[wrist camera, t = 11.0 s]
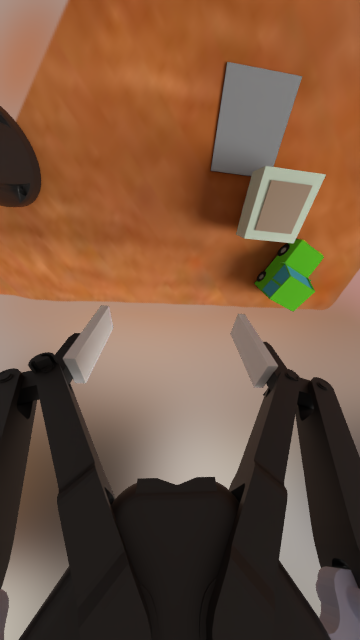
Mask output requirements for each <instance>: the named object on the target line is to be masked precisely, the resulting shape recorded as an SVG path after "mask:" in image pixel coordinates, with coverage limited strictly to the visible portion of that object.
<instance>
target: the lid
mask: <svg viewBox="0 0 360 640" xmlns="http://www.w3.org/2000/svg"><path fill="white" fill-rule="evenodd" d="M325 176H326V175H325V174H318V173H311V172H304V171H297V170H290V169H283V168H276V167H269V166H265V167H262V168H260V169H258V170H255V171H253V172H252V176H251V180H250V184H249V187H248V191H247V195H246V199H245V202H244V206H243V210H242V214H241V217H240V221H239V225H238V229H237V232H236V235H238V236H240V237H243V238H246V239H256V240H265V241H275V242H285V243H294V242H295V239H296V237H297V235H298V233H299V231H300V229H301V227H302V225H303V222H304V220H305V218H306V216H307V214H308V212H309V210H310V207H311V205H312V203H313V201H314V199H315V197H316V195H317V193H318V190H319V188H320V186H321V184H322V182H323V180H324V178H325Z"/></svg>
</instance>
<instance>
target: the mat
mask: <svg viewBox="0 0 360 640" xmlns="http://www.w3.org/2000/svg"><path fill="white" fill-rule="evenodd" d="M301 78H302V76H298V75H292V74H287V73H282V72H277V71H272V70H266V69H261V68H256V67H251V66H246V65H241V64H235V63H230V62H227V67H226V73H225V80H224V86H223V93H222V99H221V106H220V113H219V119H218V126H217V132H216V139H215V145H214V152H213V159H212V165H211V171H217V172H224V173H231V174H239V175H246V176H252V172H253V171H255V170H258V169H260V168H262V167H265V166H269V167H273V166H274V163H275V160H276V157H277V154H278V150H279V147H280V144H281V141H282V138H283V135H284V132H285V129H286V125H287V122H288V119H289V116H290V113H291V110H292V107H293V103H294V100H295V97H296V94H297V91H298V88H299V85H300V81H301Z"/></svg>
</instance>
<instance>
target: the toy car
mask: <svg viewBox="0 0 360 640" xmlns="http://www.w3.org/2000/svg"><path fill="white" fill-rule="evenodd" d="M323 258H324V257H323V255H322V253H320V252H319V251H316V250H315V249H314V248H313V247H311V246H310V245H309V244H307V242H306V241H304V240H302V239H295V242H294V243H288V244H286V245H284V246H283V247H281V249H280V250H279V251H278V256H277V257H276V258H275V259H274V260H273V261H272V263H271V264H270V265H269V266H268V267H267V269H266V270H265V271H266V272H261V273H260V274H259V276H258V277H257V281H256V282H255V283H254V284H255V285H256V286H257V287H258V288H259V289H260V290H261V291H262V292H263V293H264V294H265V295H266V296H267V297H268V298H269V299H271V300H273V301H275V302H276V303H278V304H280V305H282V306H284V307H286V308H287V309H289V310H291V311H294V310H296V309H297V308H298V307H299V306H300V305H301V304H302V303H303V302H304V301H305V300H306V299H308V298H309V297H310V296H311V295H312V294H313V293H314V292H315V290H314V288H313V286H312V284H311V282H310V281H311V280H309V279H308V277H309V276H310V274H311V273H312V272H313V271H314V269H315V268H316V267H317V266H318V264H319V263H320V262H321V261H322V259H323Z"/></svg>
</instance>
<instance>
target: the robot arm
mask: <svg viewBox="0 0 360 640" xmlns="http://www.w3.org/2000/svg"><path fill="white" fill-rule="evenodd" d="M40 187H41V174H40V168H39V164H38V161H37V158H36V155H35V153H34V151H33V148H32V146H31V144H30V142H29V141H28V139H27V137H26V136H25V134H24V133H23V131H22V130H21V128H20V127H19V126H18V124H17V123H16V122H15V121H14V119H13V118H12V117H11V116H10V115H9V114H8V113H7V112H6V111H5V110H4V109H3V108H2V107H1V106H0V205H1V206H6V207H23V206H27V205H29V204H31V203H32V202H34V201H35V199H36V198H37V196H38V194H39V192H40ZM112 330H113V323H112V318H111V313H110V308H109V306H100V308H99V309H98V310H97V312H96V313H95V315H94V316H93V317H92V319H91V320H90V321H89V323H88V324H87V326H86V327H85V328H84V330H83V331H82V332H81V333H74V334H73V335H72V336H70V337H69V338H68V339H67V340H66V342H65V343H64V344H63V345H62V347H61V348H60V349H59V350H58V352H57V353H56V354H55V355H54V354H53V353H49V352H48V353H42V354H39V355H37V356H35V357H34V358H32V359H31V360H30V362H29V364H28V365H29V367H30V369H31V370H32V371H27V372H23V373H21V372H20V371H19V370H18V369H8V370H5V371H2V372H1V373H0V640H4V628H5V623H6V617H7V612H8V608H9V605H8V604H9V600H8V599H9V598H8V596H7V593H6V592H5V591H4V590H2V589H1V587H2V584H3V581H4V577H5V574H6V570H7V567H8V563H9V560H10V555H11V550H12V545H13V540H14V535H15V528H16V523H17V517H18V510H19V505H20V498H21V493H22V487H23V481H24V475H25V469H26V463H27V456H28V451H29V445H30V439H31V433H32V427H33V422H34V415H35V410H36V404H37V400H39V399H40V403H41V407H42V412H43V417H44V421H45V426H46V431H47V436H48V440H49V445H50V449H51V454H52V459H53V463H54V468H55V473H56V478H57V482H58V488H59V494H58V496H57V504H58V511H59V515H60V521H61V526H62V531H63V536H64V541H65V546H66V551H67V556H68V561H69V567H68V568H67V570H66V571H65V573H64V574H63V576H62V577H61V579H60V580H59V582H58V583H57V585H56V586H55V587H54V589H53V591H52V592H51V593H50V595H49V596H48V598H47V599H46V601H45V602H44V603H43V605H42V606H41V608H40V609H39V611H38V612H37V614H36V615H35V617H34V618H33V619H32V621H31V622H30V624H29V625H28V627H27V628H26V630H25V631H24V633H23V634H22V635H21V637H20V638H19V640H360V457H359V455H358V452H357V449H356V447H355V444H354V441H353V439H352V437H351V434H350V431H349V429H348V426H347V423H346V420H345V418H344V415H343V413H342V410H341V407H340V405H339V402H338V400H337V397H336V394H335V392H334V389H333V388H332V386H331V385H330V384H329V383H328V382H326V381H325V380H323V379H321V378H317V377H314V378H313V379H312V380H311V381H310V380H306V379H303V378H300V377H299V376H298V375H297V374H296V373H295V372H293V371H292V370H290V369H287V368H286V366H285V365H284V363H283V362H282V361H281V359H280V358H279V356H278V355H277V353H276V352H275V350H274V349H273V348H272V346H271V345H270V344H268V343H267V342H262V340H261V338H260V337H259V335H258V334H257V332H256V331H255V329H254V328H253V326H252V325H251V323H250V321H249V320H248V319H247V317H246V315H245V314H238V315H237V317H236V320H235V323H234V326H233V328H232V331H231V336H232V338H233V340H234V343H235V345H236V347H237V350H238V352H239V354H240V356H241V359H242V361H243V363H244V365H245V368H246V370H247V372H248V375H249V377H250V379H251V381H252V384H253V386H254V387H259V388H261V387H262V388H263V387H264V385H265V384H267V386H268V389H267V390H266V392H265V393H264V394H263V395H264V399H263V402H262V405H261V407H260V410H259V413H258V416H257V419H256V421H255V424H254V427H253V430H252V433H251V435H250V438H249V441H248V444H247V446H246V449H245V452H244V455H243V458H242V460H241V463H240V466H239V468H238V471H237V473H236V475H235V477H234V479H233V481H232V483H231V485H230V488H229V490H228V489H227V488H226V487H224V486H223V485H221V484H220V483H218V482H216V481H215V477H197V478H194V479H191V480H189V481H187V482H184V483H182V484H180V485H175V484H172V483H169V482H166V481H163V480H160V479H158V478H146V479H138V481H137V483H136V484H133V485H132V486H130V487H128V488H127V489H125V490H124V491H123V492H122V493H121V494H120V495H119V496H118V497H117V498H116V499H115V496H114V494H113V491H112V489H111V486H110V484H109V482H108V480H107V477H106V475H105V473H104V470H103V467H102V465H101V463H100V460H99V457H98V454H97V452H96V449H95V447H94V444H93V441H92V439H91V436H90V434H89V431H88V428H87V426H86V423H85V421H84V418H83V415H82V413H81V410H80V408H79V405H78V402H77V400H76V397H75V394H74V392H73V389H72V387H71V384H70V382H71V381H72V379H73V380H74V381H75V383H86V382H87V380H88V378H89V376H90V374H91V372H92V370H93V368H94V366H95V364H96V362H97V360H98V358H99V356H100V354H101V351H102V350H103V348H104V346H105V344H106V342H107V340H108V338H109V336H110V333H111V332H112ZM295 414H296V421H297V428H298V435H299V442H300V449H301V456H302V463H303V470H304V476H305V484H306V491H307V498H308V505H309V512H310V518H311V525H312V531H313V537H314V542H315V546H316V550H317V554H318V558H319V562H320V566H321V569H320V570H319V573H318V580H317V582H316V591H317V594H318V597H319V599H320V601H321V615H320V618H318V616H317V615H316V613H315V612H314V610H313V609H312V607H311V606H310V604H309V603H308V601H307V600H306V599H305V597H304V596H303V594H302V593H301V591H300V590H299V589H298V587H297V586H296V584H295V583H294V581H293V580H292V578H291V577H290V575H289V574H288V572H287V571H286V570H285V568H284V567H283V565H282V564H281V562H280V561H279V554H280V547H281V540H282V533H283V526H284V519H285V511H286V505H287V490H286V488H285V487H284V479H285V473H286V466H287V460H288V454H289V449H290V443H291V436H292V431H293V425H294V419H295Z"/></svg>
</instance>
